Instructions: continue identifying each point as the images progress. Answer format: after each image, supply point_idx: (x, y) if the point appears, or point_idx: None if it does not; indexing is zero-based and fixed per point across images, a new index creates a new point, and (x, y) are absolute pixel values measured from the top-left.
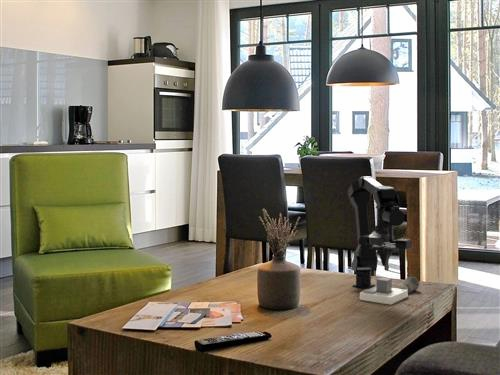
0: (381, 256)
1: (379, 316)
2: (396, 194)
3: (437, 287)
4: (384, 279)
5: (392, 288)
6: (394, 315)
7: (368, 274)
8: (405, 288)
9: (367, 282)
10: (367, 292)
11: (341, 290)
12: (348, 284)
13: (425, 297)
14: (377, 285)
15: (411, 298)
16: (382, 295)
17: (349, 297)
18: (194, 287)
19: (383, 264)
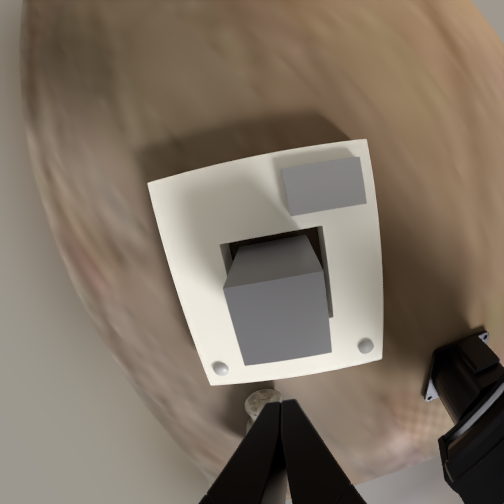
0: (311, 498)
1: (92, 10)
2: None
3: None
4: (269, 314)
5: (286, 365)
6: (60, 64)
7: (458, 401)
8: (249, 406)
9: (446, 375)
10: (324, 161)
11: (497, 242)
12: (500, 339)
13: (167, 392)
14: (306, 255)
15: (186, 352)
16: (212, 183)
17: (416, 146)
18: None
19: (281, 409)
